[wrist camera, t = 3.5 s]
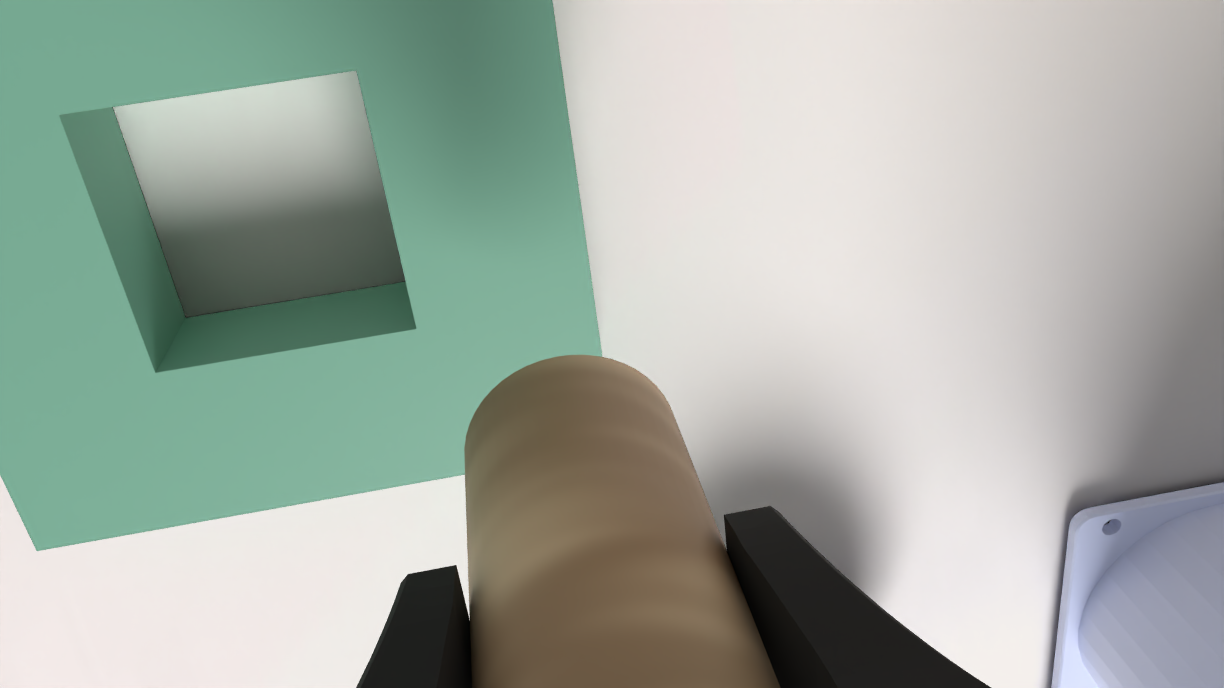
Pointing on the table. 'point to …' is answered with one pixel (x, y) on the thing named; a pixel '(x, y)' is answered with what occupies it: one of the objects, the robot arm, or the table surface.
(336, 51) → the socket block
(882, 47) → the table surface
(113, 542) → the table surface
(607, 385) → the dowel
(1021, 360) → the table surface
